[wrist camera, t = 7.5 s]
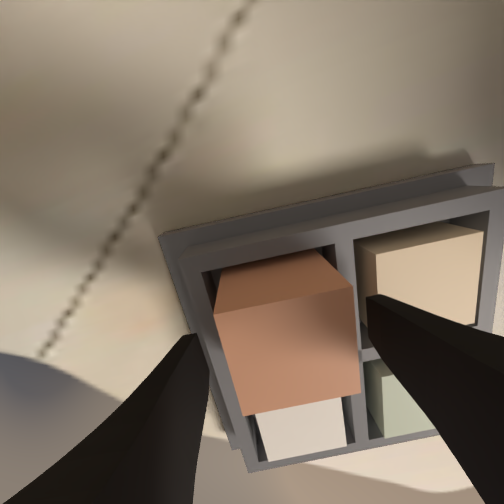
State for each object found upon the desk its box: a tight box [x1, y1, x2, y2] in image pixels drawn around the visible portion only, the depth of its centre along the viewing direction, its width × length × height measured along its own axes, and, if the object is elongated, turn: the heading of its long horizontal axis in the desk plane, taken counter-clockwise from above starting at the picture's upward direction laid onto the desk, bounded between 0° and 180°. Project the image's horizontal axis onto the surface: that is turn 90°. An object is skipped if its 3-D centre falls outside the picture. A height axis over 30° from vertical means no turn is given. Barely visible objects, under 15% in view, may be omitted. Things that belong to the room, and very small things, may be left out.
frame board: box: [158, 163, 504, 473], centre depth 13 cm, size 17×16×4 cm
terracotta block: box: [213, 248, 361, 416], centre depth 11 cm, size 5×5×5 cm
